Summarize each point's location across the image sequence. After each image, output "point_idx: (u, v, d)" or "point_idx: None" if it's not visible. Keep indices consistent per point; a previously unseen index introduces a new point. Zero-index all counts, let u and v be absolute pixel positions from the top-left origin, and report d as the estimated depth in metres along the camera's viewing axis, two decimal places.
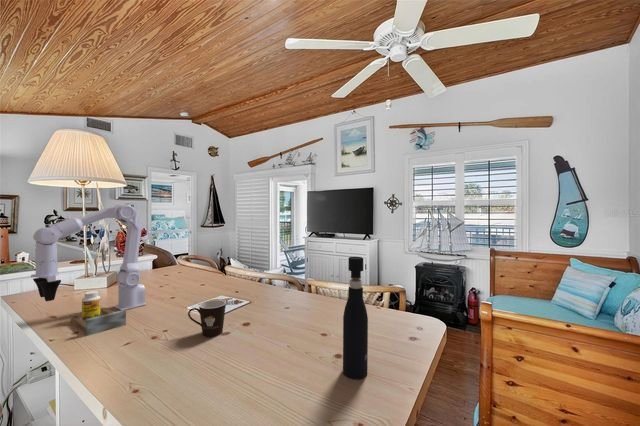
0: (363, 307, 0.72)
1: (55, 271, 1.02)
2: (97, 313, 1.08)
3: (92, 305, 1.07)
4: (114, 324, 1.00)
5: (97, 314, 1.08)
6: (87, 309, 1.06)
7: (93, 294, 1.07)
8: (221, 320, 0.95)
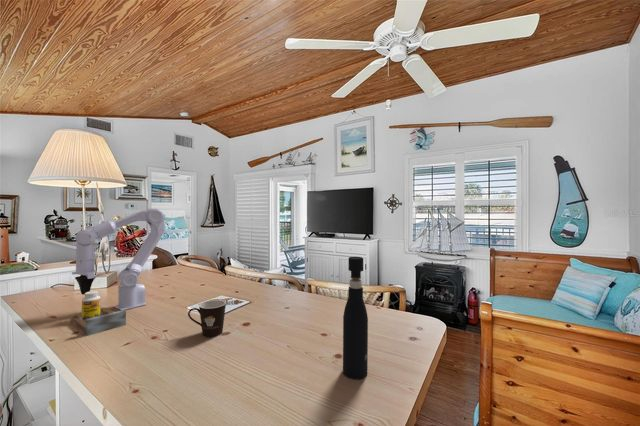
0: (363, 307, 0.72)
1: (93, 269, 1.13)
2: (97, 313, 1.08)
3: (92, 305, 1.07)
4: (114, 324, 1.00)
5: (97, 314, 1.08)
6: (87, 309, 1.06)
7: (93, 294, 1.07)
8: (221, 320, 0.95)
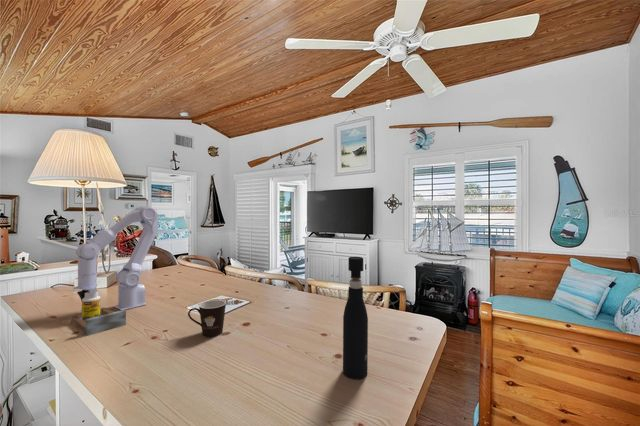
0: (363, 307, 0.72)
1: (95, 283, 1.11)
2: (97, 313, 1.08)
3: (92, 305, 1.06)
4: (114, 324, 1.00)
5: (97, 314, 1.08)
6: (87, 309, 1.06)
7: (93, 294, 1.07)
8: (221, 320, 0.95)
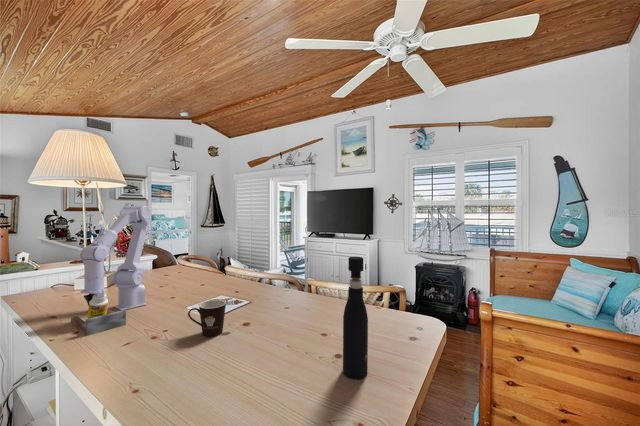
0: (363, 307, 0.72)
1: (102, 287, 1.07)
2: None
3: (99, 310, 1.02)
4: (114, 324, 1.00)
5: None
6: (93, 313, 1.01)
7: (101, 299, 1.02)
8: (221, 320, 0.95)
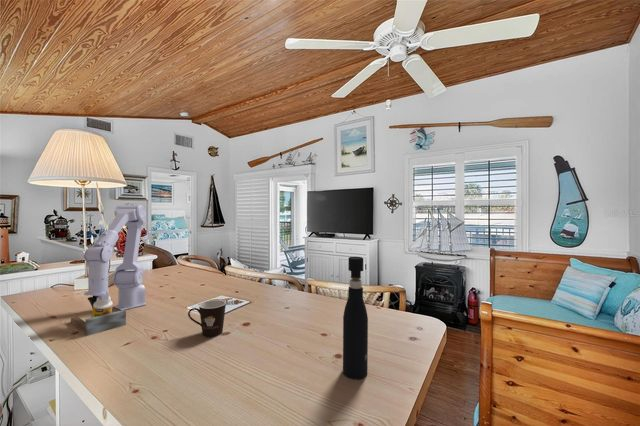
0: (363, 307, 0.72)
1: (106, 289, 1.04)
2: None
3: (103, 313, 1.00)
4: (114, 324, 1.00)
5: None
6: None
7: (106, 301, 1.00)
8: (221, 320, 0.95)
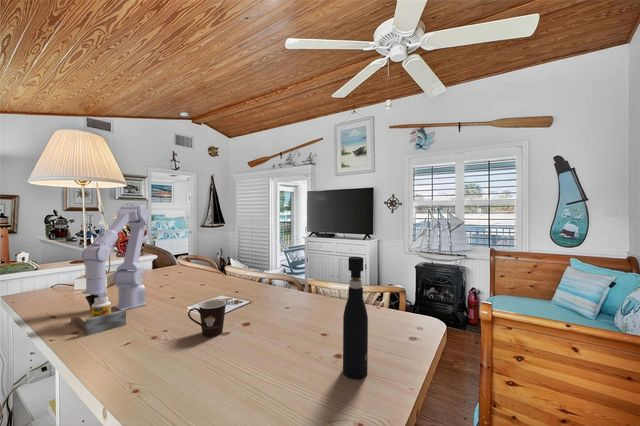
0: (363, 307, 0.72)
1: (104, 288, 1.06)
2: None
3: (102, 311, 1.00)
4: (114, 324, 1.00)
5: None
6: (97, 315, 0.99)
7: (103, 299, 1.01)
8: (221, 320, 0.95)
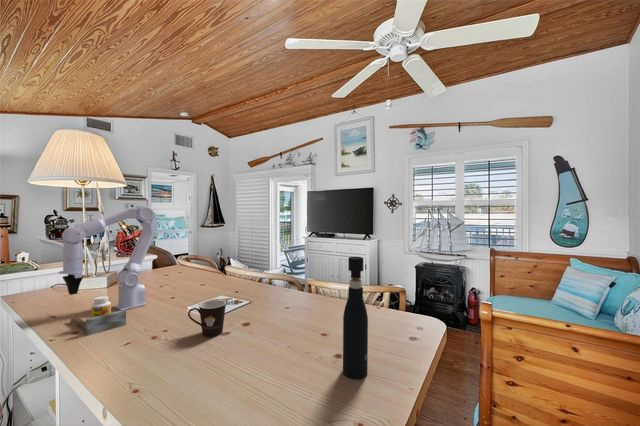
0: (363, 307, 0.72)
1: (81, 268, 1.09)
2: None
3: (102, 311, 1.00)
4: (114, 324, 1.00)
5: None
6: (97, 315, 0.99)
7: (103, 299, 1.01)
8: (221, 320, 0.95)
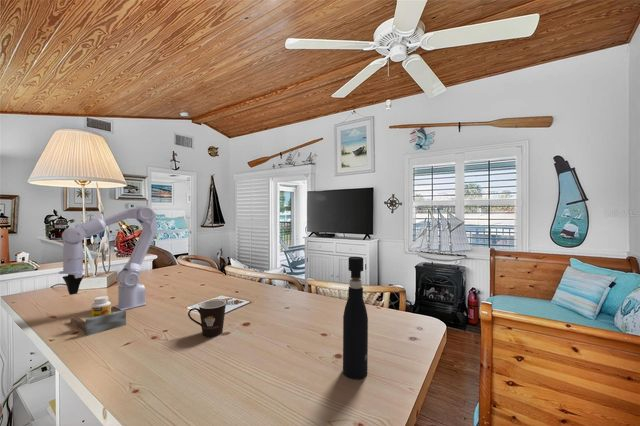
0: (363, 307, 0.72)
1: (81, 268, 1.09)
2: None
3: (102, 312, 1.00)
4: (114, 324, 1.00)
5: None
6: (97, 315, 0.99)
7: (103, 299, 1.01)
8: (221, 320, 0.95)
